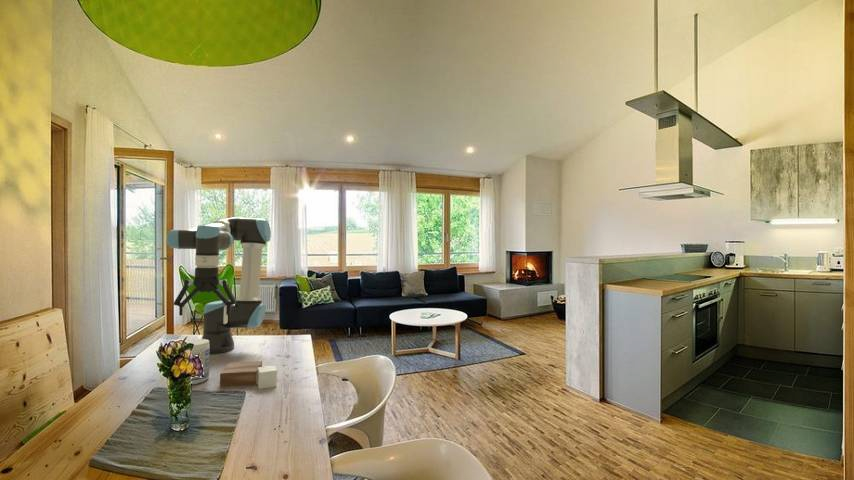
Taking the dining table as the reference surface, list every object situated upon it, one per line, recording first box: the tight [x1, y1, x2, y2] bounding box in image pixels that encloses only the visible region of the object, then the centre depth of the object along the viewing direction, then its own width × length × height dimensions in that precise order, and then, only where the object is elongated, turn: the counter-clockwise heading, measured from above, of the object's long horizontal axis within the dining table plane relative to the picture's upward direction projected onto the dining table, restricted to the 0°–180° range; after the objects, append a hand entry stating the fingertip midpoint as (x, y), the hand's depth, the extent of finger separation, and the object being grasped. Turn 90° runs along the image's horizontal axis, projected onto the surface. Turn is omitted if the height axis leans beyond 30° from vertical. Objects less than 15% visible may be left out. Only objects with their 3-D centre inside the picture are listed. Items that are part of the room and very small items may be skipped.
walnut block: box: [219, 361, 263, 388], centre depth 142 cm, size 12×12×5 cm
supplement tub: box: [185, 338, 210, 385], centre depth 140 cm, size 10×10×15 cm
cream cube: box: [256, 365, 278, 390], centre depth 139 cm, size 6×6×6 cm
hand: (205, 323), depth 138 cm, fingers open, 13 cm apart
